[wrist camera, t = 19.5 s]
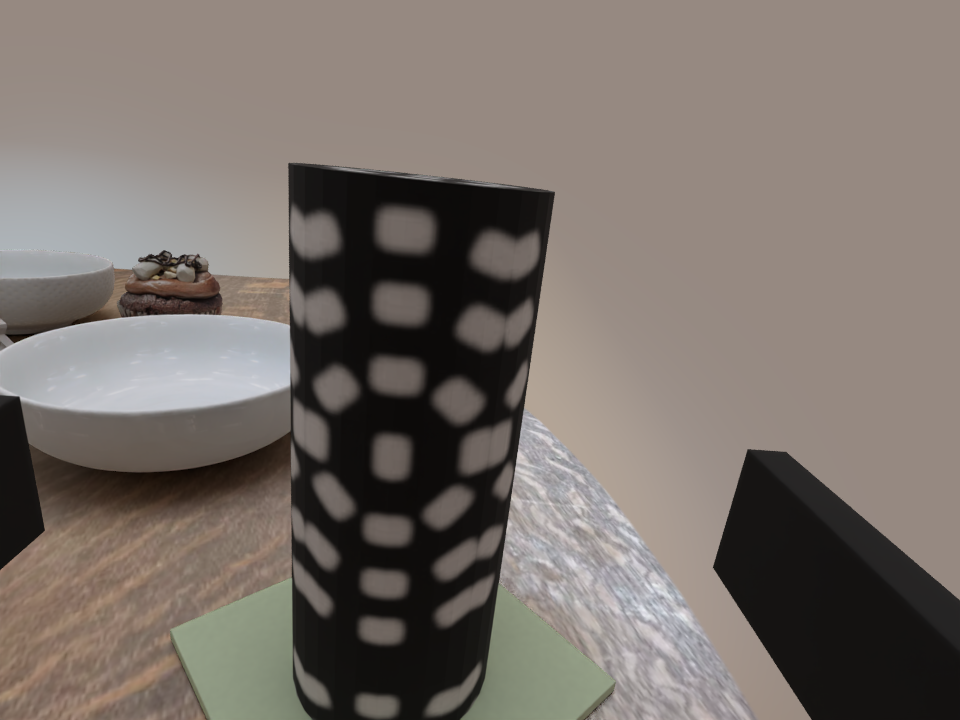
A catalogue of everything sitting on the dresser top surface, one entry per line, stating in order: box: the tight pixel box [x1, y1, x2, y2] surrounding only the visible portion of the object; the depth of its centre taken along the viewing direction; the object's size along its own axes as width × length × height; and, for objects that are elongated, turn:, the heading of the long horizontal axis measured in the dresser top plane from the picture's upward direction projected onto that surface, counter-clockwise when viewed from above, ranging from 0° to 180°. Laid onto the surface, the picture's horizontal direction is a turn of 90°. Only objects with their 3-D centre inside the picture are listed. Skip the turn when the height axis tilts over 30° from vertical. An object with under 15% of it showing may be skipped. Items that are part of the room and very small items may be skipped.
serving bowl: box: [0, 314, 291, 472], centre depth 40 cm, size 21×21×7 cm
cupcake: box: [117, 250, 223, 318], centre depth 57 cm, size 10×10×10 cm
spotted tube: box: [288, 163, 555, 720], centre depth 21 cm, size 8×8×20 cm
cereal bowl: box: [0, 249, 115, 335], centre depth 59 cm, size 17×17×7 cm
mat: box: [170, 577, 616, 720], centre depth 24 cm, size 14×14×1 cm
